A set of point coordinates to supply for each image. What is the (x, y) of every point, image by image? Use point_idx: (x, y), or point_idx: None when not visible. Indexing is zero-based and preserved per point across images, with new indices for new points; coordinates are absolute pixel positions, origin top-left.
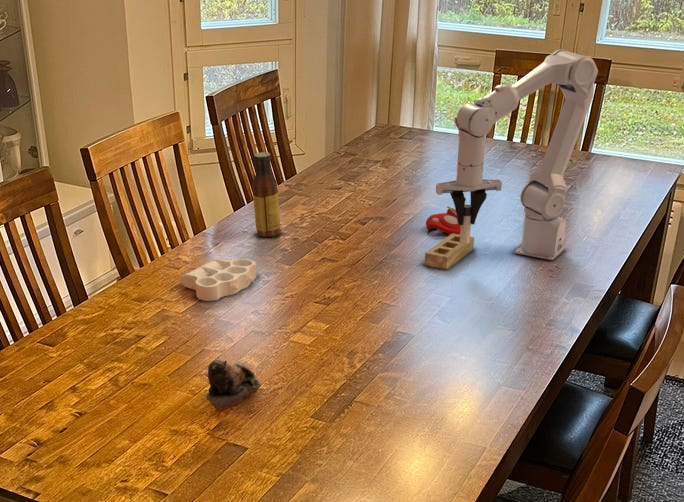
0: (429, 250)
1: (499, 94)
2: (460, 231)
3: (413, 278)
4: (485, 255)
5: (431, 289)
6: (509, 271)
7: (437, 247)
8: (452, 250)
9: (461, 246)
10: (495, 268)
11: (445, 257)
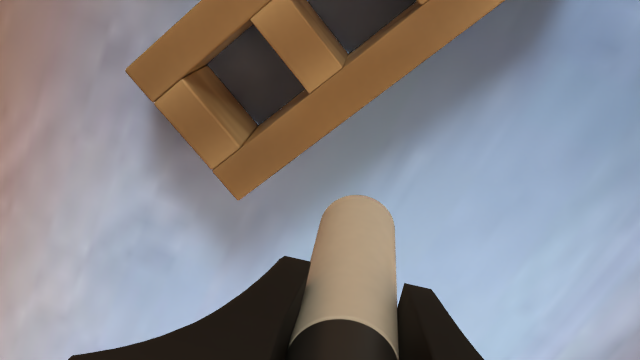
0: (166, 41)
1: None
2: (312, 254)
3: (44, 204)
4: (597, 58)
5: (94, 348)
6: (571, 322)
7: (242, 9)
8: (320, 105)
9: (417, 61)
10: (526, 260)
11: (229, 188)
